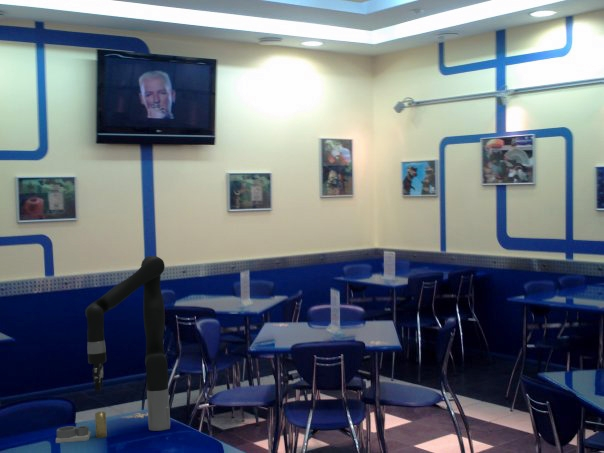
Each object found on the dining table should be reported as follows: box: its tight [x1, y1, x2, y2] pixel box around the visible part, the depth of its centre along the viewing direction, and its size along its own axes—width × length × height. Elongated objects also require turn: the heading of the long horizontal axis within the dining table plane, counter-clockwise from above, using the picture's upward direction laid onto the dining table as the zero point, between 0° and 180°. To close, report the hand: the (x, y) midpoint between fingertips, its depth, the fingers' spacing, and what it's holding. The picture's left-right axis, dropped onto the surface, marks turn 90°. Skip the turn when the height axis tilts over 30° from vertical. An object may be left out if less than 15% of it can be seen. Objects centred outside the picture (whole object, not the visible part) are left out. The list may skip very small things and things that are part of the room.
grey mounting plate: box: [55, 425, 92, 444], centre depth 326 cm, size 13×9×4 cm
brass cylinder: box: [94, 411, 108, 439], centre depth 328 cm, size 4×4×10 cm
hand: (99, 389), depth 328 cm, fingers open, 8 cm apart
